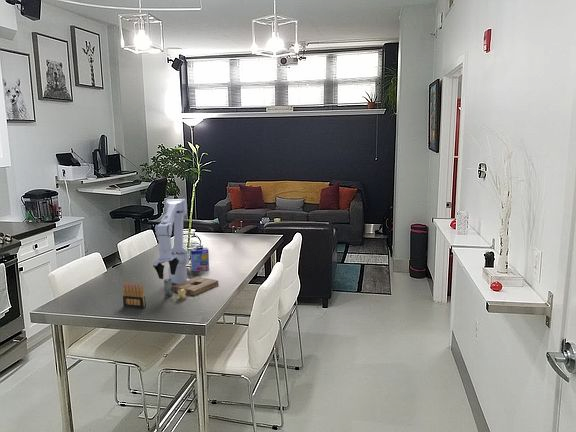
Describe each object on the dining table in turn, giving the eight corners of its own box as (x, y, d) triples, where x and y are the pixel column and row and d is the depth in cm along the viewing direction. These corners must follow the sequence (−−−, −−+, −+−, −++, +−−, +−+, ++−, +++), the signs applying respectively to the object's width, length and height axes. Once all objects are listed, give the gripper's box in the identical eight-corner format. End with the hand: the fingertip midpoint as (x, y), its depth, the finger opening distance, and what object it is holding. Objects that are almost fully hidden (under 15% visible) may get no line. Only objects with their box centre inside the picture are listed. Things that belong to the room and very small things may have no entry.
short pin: (176, 299, 220) (176, 290, 219) (182, 297, 223) (181, 288, 222) (182, 300, 218) (181, 291, 218) (187, 298, 221) (187, 289, 221)
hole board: (173, 291, 232) (172, 286, 232) (198, 281, 247) (197, 276, 247) (194, 295, 225) (193, 290, 224) (218, 285, 240) (218, 280, 239)
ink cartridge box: (192, 271, 264) (191, 247, 262) (191, 269, 269) (189, 245, 267) (209, 269, 268) (208, 245, 265) (208, 267, 273) (206, 243, 270)
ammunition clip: (146, 306, 211) (143, 281, 209) (143, 308, 210) (141, 282, 208) (125, 305, 214) (123, 280, 212) (123, 306, 213) (120, 281, 211)
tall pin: (163, 296, 225) (162, 280, 224) (168, 294, 228) (167, 278, 227) (168, 297, 223) (167, 281, 222) (174, 295, 226) (172, 279, 225)
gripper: (159, 253, 213) (161, 281, 216) (182, 246, 225) (184, 273, 228) (148, 251, 217) (151, 279, 219) (171, 245, 229) (173, 271, 231)
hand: (167, 276), depth 224 cm, fingers open, 7 cm apart
